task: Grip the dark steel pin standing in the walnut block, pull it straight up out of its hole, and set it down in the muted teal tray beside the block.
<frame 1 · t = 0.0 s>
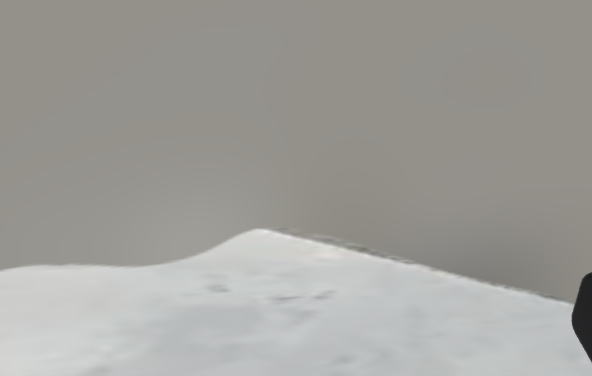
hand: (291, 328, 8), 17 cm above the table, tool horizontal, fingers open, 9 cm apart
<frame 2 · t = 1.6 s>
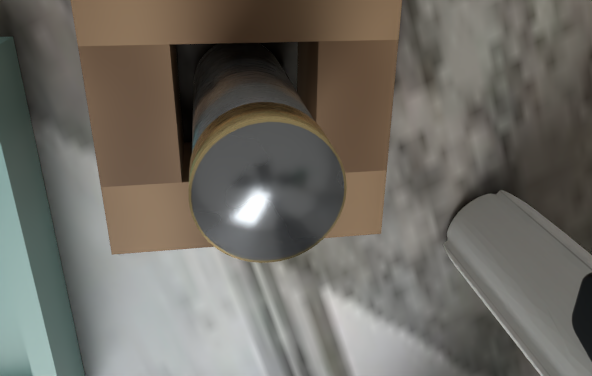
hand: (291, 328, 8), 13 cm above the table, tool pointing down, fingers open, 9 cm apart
steel pin: (250, 125, 15), in the pin block
pin block: (239, 84, 19), on the table
photo printer: (523, 262, 25), on the table
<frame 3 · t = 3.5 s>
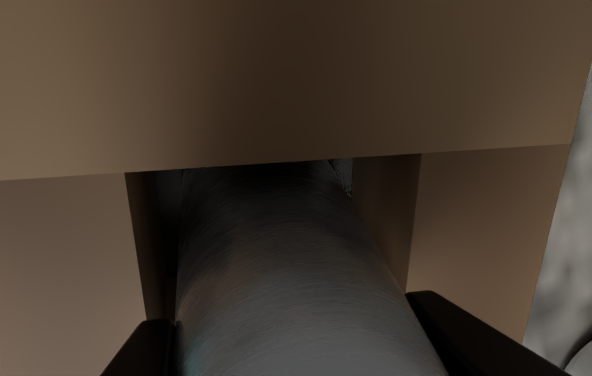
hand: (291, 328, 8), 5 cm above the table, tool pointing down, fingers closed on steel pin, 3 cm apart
steel pin: (290, 325, 8), in the pin block, touching gripper
pin block: (257, 187, 12), on the table
when the fingers open (6 cm above the table, at t = 8.1 s): steel pin drops 1 cm, resting on tray.
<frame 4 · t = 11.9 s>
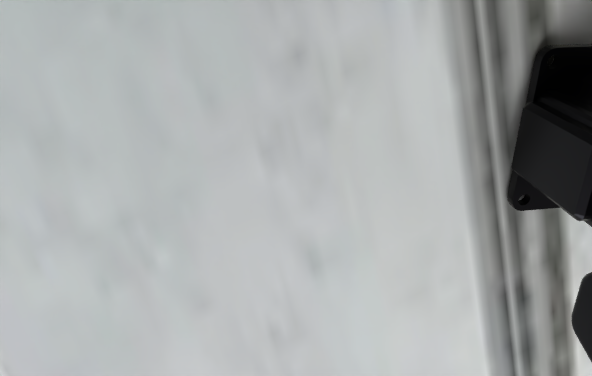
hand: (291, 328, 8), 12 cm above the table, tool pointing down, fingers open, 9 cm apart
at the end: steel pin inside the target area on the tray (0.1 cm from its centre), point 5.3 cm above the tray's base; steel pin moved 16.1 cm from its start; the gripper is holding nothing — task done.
